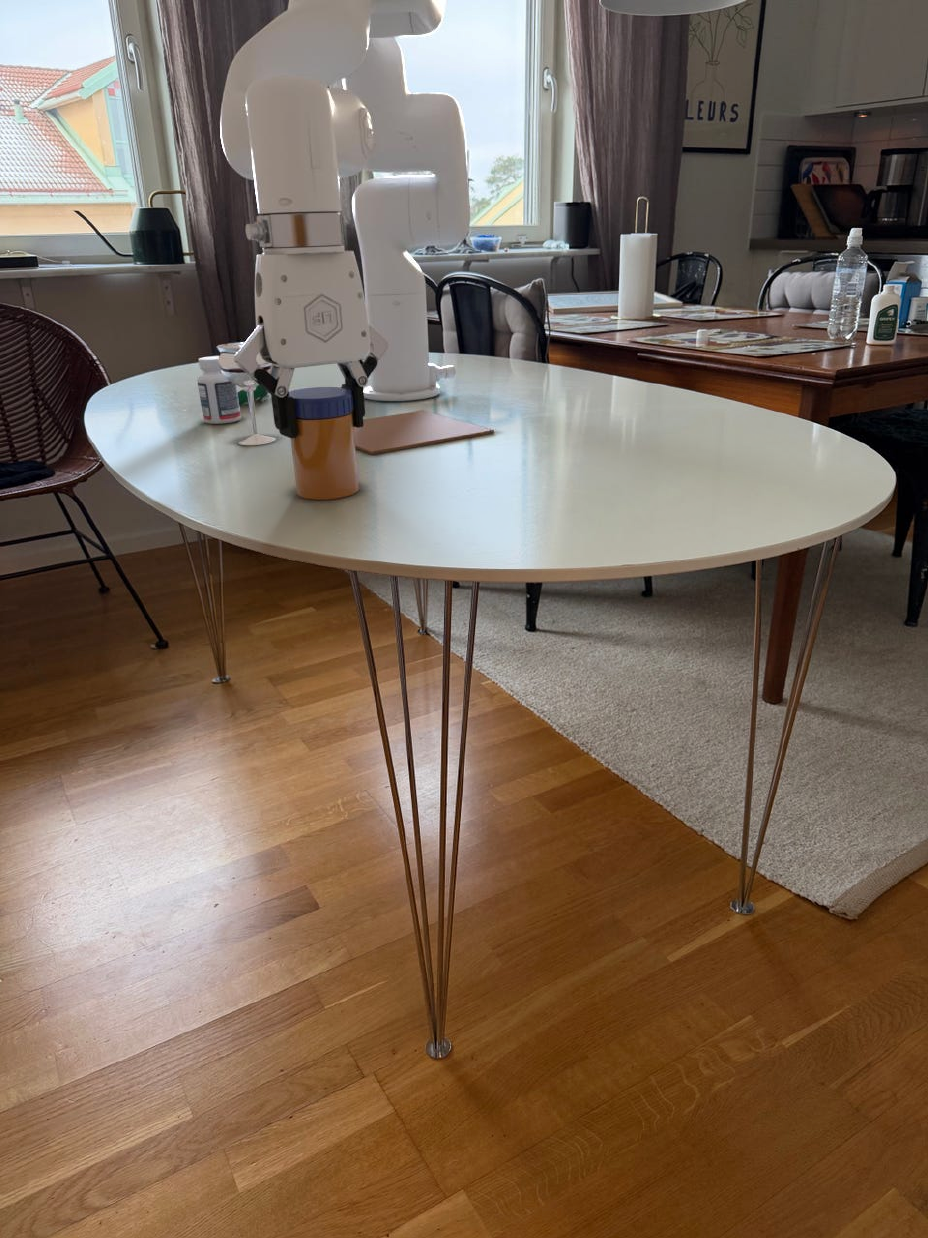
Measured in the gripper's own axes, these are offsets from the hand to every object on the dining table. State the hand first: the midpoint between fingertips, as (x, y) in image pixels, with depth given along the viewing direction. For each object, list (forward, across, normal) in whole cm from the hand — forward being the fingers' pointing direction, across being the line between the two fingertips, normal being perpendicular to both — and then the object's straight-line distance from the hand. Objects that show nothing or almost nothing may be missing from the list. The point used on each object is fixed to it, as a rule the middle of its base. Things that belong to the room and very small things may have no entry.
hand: (321, 428), depth 86 cm
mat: (+6, +20, +20) cm, 29 cm away
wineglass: (+7, +3, +28) cm, 29 cm away
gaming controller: (+7, +14, +56) cm, 58 cm away
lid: (-3, 0, 0) cm, 3 cm away
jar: (+6, 0, 0) cm, 6 cm away
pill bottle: (+7, +4, +44) cm, 45 cm away
